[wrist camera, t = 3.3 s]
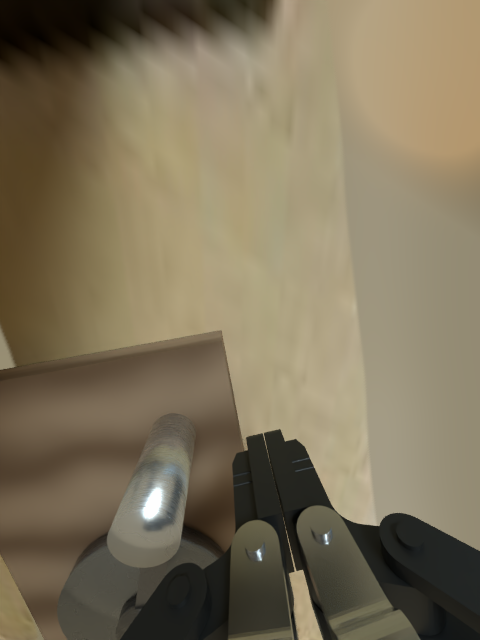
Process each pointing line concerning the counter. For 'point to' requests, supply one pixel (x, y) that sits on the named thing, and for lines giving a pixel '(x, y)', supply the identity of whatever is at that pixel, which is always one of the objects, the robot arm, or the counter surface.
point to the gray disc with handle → (138, 540)
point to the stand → (105, 452)
